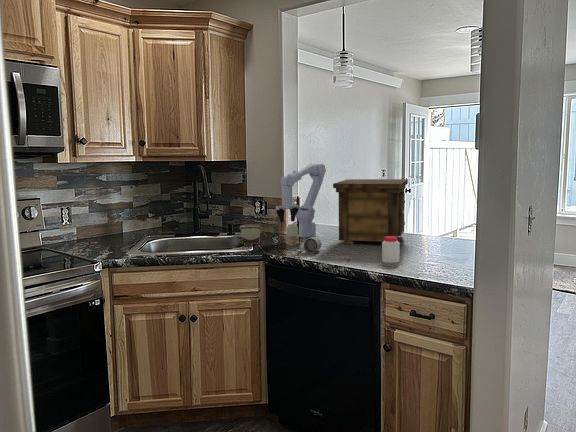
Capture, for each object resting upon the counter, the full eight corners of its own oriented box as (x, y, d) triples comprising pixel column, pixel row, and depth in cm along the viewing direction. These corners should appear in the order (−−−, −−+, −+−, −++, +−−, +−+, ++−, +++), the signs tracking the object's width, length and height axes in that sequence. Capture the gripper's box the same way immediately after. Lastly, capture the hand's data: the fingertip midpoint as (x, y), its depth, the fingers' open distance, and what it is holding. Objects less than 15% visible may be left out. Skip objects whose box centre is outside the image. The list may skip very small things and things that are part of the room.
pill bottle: (379, 259, 220) (379, 235, 219) (396, 258, 221) (396, 235, 219) (384, 263, 212) (384, 238, 211) (401, 262, 213) (402, 238, 212)
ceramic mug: (322, 250, 242) (322, 235, 241) (318, 253, 235) (317, 238, 234) (302, 249, 246) (302, 235, 245) (297, 253, 238) (296, 237, 237)
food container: (263, 241, 269) (263, 224, 268) (262, 243, 263) (261, 225, 262) (242, 241, 270) (241, 224, 269) (239, 243, 264) (239, 226, 263)
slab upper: (293, 238, 264) (292, 234, 264) (298, 240, 260) (298, 235, 260) (285, 240, 261) (285, 235, 261) (291, 241, 257) (291, 236, 257)
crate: (347, 233, 288) (346, 179, 284) (407, 236, 277) (407, 179, 273) (333, 245, 255) (333, 183, 251) (401, 248, 244) (401, 183, 240)
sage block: (292, 234, 264) (292, 225, 263) (298, 235, 260) (297, 226, 260) (286, 235, 261) (286, 226, 260) (291, 236, 257) (291, 227, 257)
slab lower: (293, 243, 265) (293, 238, 264) (299, 244, 260) (299, 240, 260) (286, 244, 262) (286, 239, 261) (291, 245, 258) (291, 241, 257)
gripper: (293, 196, 277) (293, 220, 279) (272, 198, 269) (272, 222, 270) (300, 197, 271) (300, 221, 273) (279, 198, 263) (280, 223, 264)
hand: (287, 221), depth 271 cm, fingers open, 7 cm apart
